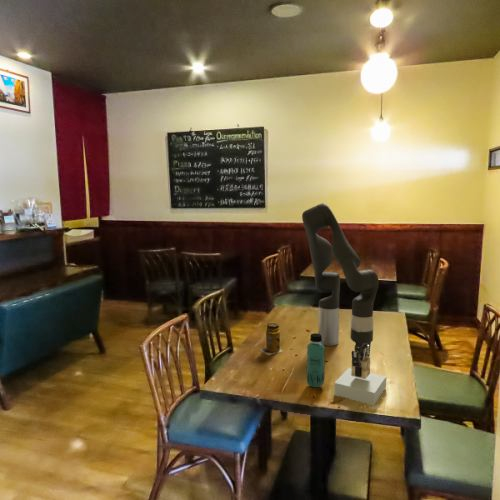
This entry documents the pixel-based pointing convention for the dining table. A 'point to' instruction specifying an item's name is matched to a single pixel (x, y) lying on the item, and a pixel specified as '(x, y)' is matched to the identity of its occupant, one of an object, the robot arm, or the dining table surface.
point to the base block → (360, 387)
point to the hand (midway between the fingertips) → (360, 372)
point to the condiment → (272, 339)
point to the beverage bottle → (315, 361)
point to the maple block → (363, 368)
